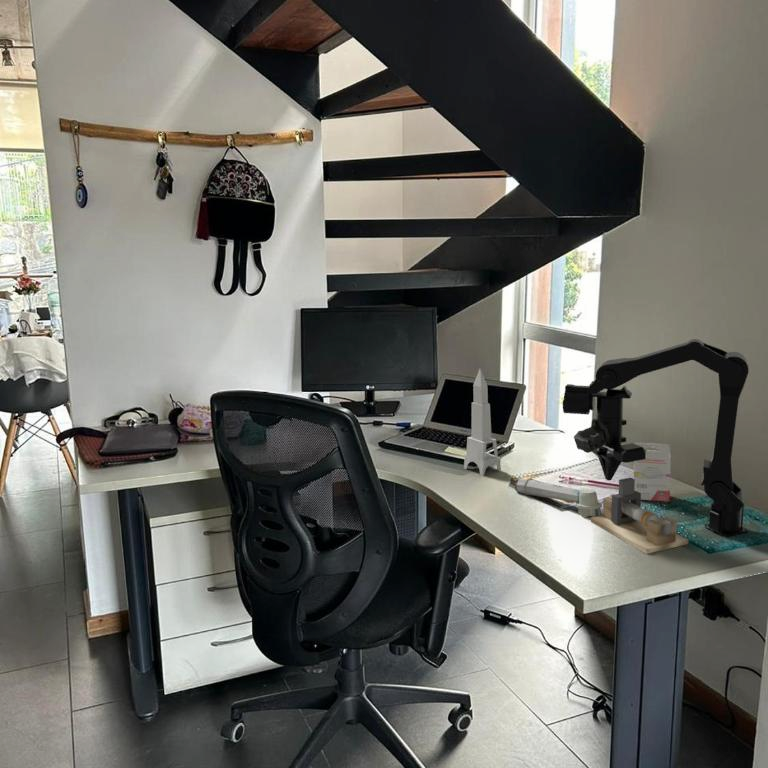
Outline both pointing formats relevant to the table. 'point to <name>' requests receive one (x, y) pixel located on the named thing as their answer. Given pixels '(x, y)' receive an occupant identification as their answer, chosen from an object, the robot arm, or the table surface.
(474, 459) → the sculpture
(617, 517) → the collar
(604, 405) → the robot arm
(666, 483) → the ink cartridge box
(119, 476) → the table surface
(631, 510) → the pipe stand
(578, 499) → the grey piece
